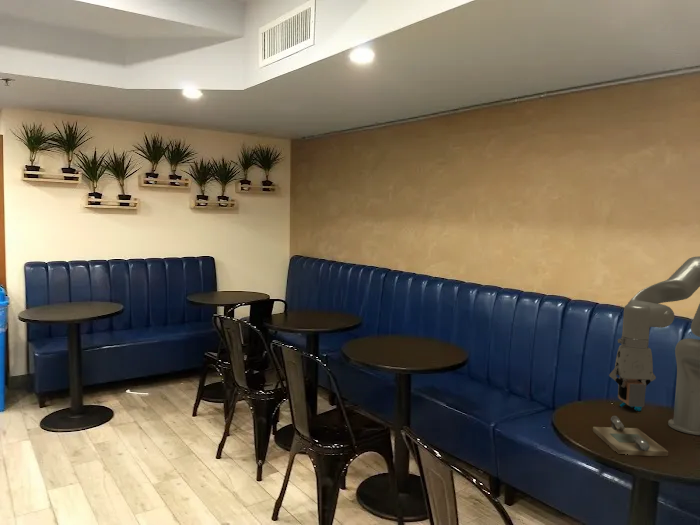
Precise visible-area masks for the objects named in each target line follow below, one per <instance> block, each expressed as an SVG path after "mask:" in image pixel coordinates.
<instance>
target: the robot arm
mask: <svg viewBox="0 0 700 525" xmlns="http://www.w3.org/2000/svg"><path fill="white" fill-rule="evenodd" d="M699 288H700V256H693V257H690V258H688V259H686V260H685V261H684V262H683V263H682V264H681V266H680V267H678V268H677V269H676V270H675V272H673V273H672V274H671V276H669V278H667V279H665V280H663V281H660V282H657V283H654V284H651V285H648V286H646V287H644V288H642V289H641V290H640V291H638V292H637V293H636V294H634V296H633V297H632V298H631V299H630V300H629V301H628V302H627V304H626V305H624V309H623V318H622V333H621V334H622V335H621V338H618V339H617V343H618V344H621V345H619V347H618V348H617V353H616V358H615V363H614V369H613V370H612V371H611V372H610V373H609V374H608V376H609V378H611V379H612V380H614V381H615V382H616V383H617V386H618V385H619V396H620V397H621V398H622V399H623V400H626V395H627V388H626V383H627V380H628V379H634V380H638V381H640V382H641V383H643V384H645V385H646V387H647V386H648V385H649V384H650V383H651V382H653V381H655V380H656V378H657V377H656V375H655V373H654V372H653V371H654V370H653V369H654V366H653V364H654V362H653V353H652V349H651V348H650V347H649V342H650V341H649V340H650V328H658V329H659V328H660V329H661V328H667V327H669V326H670V325H672V324H673V322H674V320H675V313H674V311H673V309H672V308H671V307H670V306H668V305H665V304H663V303H670V302H671V303H672V302H679V301H683V300H687V299H689V298H691V296H693V295H694V293H695V292H696V291H697V290H698V289H699ZM690 331H691V332H692V334H693V335H694V336H696V337H699V338H700V303H699V304H698V307H697V309H696V311H695V314H694V316H693V318H692V321H691V325H690ZM674 352H675V361H676V384H675V397H674V408H673V409H674V411H673V418H670V419H669V420H668V421H667V422H668V423H667V424H668V425H667V426H669V427H670V428H671V429H673V430H676V431H677V432H681V433H684V434H688V435H689V434H690V435H695V436H700V339H698V338H689V337H687V338H683V339H681V340H679V341H678V342H677V343H676V345H675V350H674ZM618 376H619V377H618Z"/></svg>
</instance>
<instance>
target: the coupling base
mask: <svg viewBox="0 0 700 525" xmlns="http://www.w3.org/2000/svg"><path fill="white" fill-rule="evenodd" d="M592 432H593V433H594V434H596V436H598V438H600V439H601V441H603V442H604V443H605V444H606V445H607V446H608V445H609V447H610V449H611V450H613V451H614V452H615V451H616V452H617V453H618V454H625V455H624V456H646V457H647V456H650V457H651V456H652V457H653V456H654V457H668V456H669V451H668V450H667V449H666V448H664V447H663V446H662V445H661V444H659V443H657V442H656V441H655V440H654V439H653V438H651V437H649V435H647V434H646V433H645V432H643V431H642V430H641V429H639V428H638V427H625V428H624V430H622V431H619V430H618V429H617V428H616V426H615V424H614V423H613V422H612V421H611V426H610V427H607V426H606V427H605V426H593V427H592ZM636 436H639V437H640V438H641V439H643V440H644V441H645V442H646V443H648V444H649V446H650V447H649V449H648V450H646V451H644V450H643V449H641V448H640V445H639V444H638V443H637V442H636V444H635V443H634V442H633V438H634V437H636ZM616 452H615V453H616ZM617 453H616V454H617ZM618 454H617V455H618ZM627 454H628V455H627Z"/></svg>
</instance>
